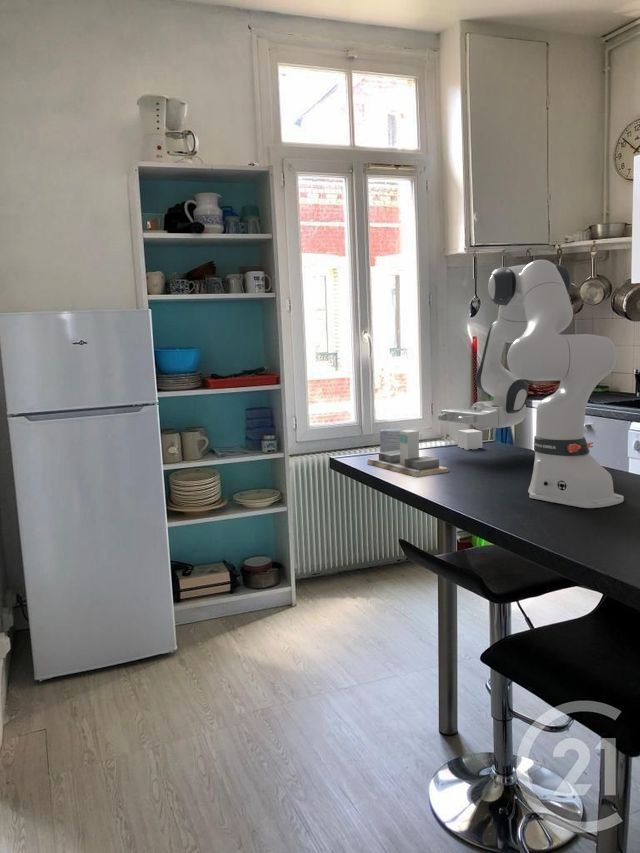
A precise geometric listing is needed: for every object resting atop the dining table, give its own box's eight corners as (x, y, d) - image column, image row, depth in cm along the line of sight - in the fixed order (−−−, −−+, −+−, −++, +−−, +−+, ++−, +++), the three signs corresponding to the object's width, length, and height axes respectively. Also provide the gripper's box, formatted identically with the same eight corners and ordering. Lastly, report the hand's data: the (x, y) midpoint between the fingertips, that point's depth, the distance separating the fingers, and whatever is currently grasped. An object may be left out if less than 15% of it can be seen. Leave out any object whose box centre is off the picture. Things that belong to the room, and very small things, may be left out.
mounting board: (448, 471, 201) (448, 459, 201) (416, 476, 195) (416, 464, 195) (398, 459, 222) (398, 448, 221) (367, 463, 216) (367, 452, 215)
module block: (418, 464, 208) (418, 431, 207) (407, 465, 206) (407, 432, 205) (410, 462, 212) (410, 429, 210) (399, 463, 210) (399, 430, 208)
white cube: (457, 447, 242) (457, 430, 241) (472, 446, 244) (472, 429, 243) (467, 450, 236) (467, 432, 235) (482, 448, 238) (482, 431, 237)
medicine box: (404, 454, 230) (404, 428, 229) (404, 457, 226) (404, 430, 224) (380, 454, 231) (380, 429, 229) (380, 457, 226) (379, 431, 225)
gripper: (460, 403, 229) (427, 406, 222) (506, 407, 211) (472, 410, 204) (460, 422, 229) (427, 426, 222) (506, 428, 212) (472, 432, 205)
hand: (449, 418), depth 213 cm, fingers open, 8 cm apart
